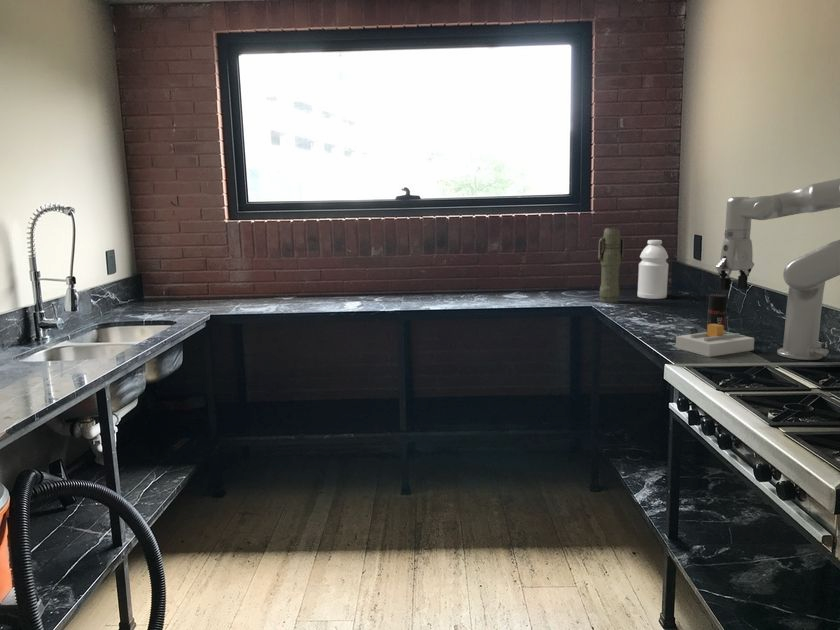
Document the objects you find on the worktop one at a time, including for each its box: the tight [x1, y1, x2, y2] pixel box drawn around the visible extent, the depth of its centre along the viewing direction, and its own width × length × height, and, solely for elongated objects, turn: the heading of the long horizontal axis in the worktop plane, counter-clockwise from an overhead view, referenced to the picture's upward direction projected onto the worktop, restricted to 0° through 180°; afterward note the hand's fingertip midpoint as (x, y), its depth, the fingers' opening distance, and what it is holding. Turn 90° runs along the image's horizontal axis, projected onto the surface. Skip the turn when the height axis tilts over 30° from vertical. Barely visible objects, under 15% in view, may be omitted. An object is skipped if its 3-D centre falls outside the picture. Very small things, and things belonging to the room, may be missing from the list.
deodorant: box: [706, 293, 728, 331], centre depth 242 cm, size 6×6×15 cm
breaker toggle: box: [706, 324, 724, 337], centre depth 223 cm, size 4×3×4 cm
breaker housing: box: [675, 330, 755, 358], centre depth 224 cm, size 14×20×5 cm
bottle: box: [636, 239, 669, 300], centre depth 332 cm, size 14×14×28 cm
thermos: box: [597, 226, 625, 304], centre depth 319 cm, size 9×12×35 cm
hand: (733, 288), depth 224 cm, fingers open, 7 cm apart
